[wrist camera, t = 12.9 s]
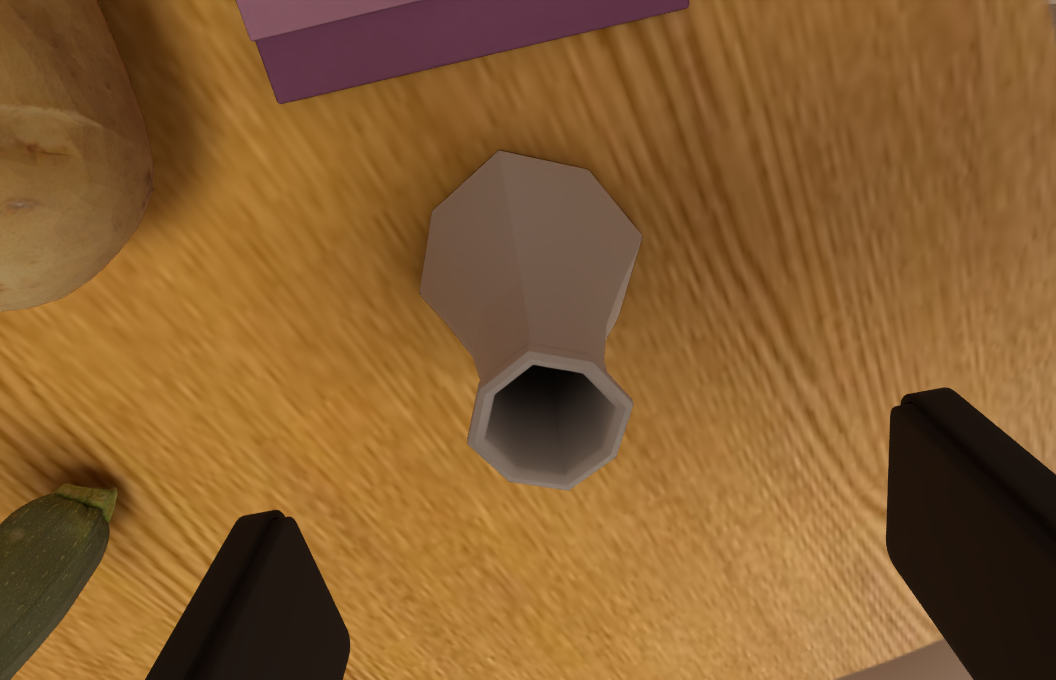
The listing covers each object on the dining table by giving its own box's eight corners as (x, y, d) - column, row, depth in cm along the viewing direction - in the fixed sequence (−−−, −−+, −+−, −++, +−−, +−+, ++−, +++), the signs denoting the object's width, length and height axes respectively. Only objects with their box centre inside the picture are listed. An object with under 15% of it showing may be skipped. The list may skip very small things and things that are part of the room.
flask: (384, 299, 22) (305, 484, 13) (487, 106, 20) (476, 171, 11) (563, 389, 24) (601, 605, 15) (678, 223, 21) (808, 363, 12)
